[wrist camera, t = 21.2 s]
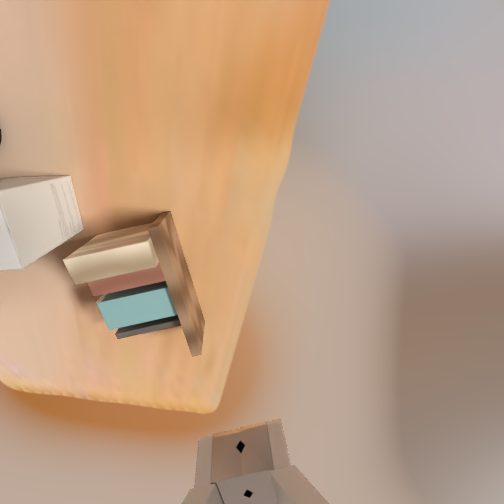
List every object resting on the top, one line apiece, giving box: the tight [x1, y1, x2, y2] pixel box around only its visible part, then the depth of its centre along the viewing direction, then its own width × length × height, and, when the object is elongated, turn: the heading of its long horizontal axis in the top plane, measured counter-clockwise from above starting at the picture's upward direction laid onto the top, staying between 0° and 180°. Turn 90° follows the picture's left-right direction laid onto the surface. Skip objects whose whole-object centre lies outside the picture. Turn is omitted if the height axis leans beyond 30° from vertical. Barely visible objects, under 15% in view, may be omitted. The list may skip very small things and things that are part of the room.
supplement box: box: [0, 176, 84, 271], centre depth 31 cm, size 7×7×13 cm
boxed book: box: [96, 281, 178, 330], centre depth 38 cm, size 4×9×7 cm, turn 101°
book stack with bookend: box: [63, 211, 205, 357], centre depth 37 cm, size 18×10×9 cm, turn 11°
